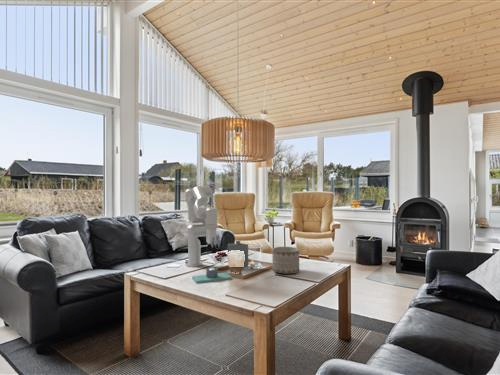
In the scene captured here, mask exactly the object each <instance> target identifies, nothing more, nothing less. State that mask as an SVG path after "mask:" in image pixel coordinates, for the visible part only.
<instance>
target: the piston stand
mask: <svg viewBox="0 0 500 375" xmlns="http://www.w3.org/2000/svg"><path fill="white" fill-rule="evenodd" d="M210 268H211V269H209V270H215V269H214V268H215V267H210ZM232 278H233V277H232V276H231V275H230V274H229V273H228V272H218V277H216V278H207V277H206V274H199V275H193V276H192V280H193V282H195V284H201V283H202V284H203V283H212V282H220V281H229V280H233V279H232Z"/></svg>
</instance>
